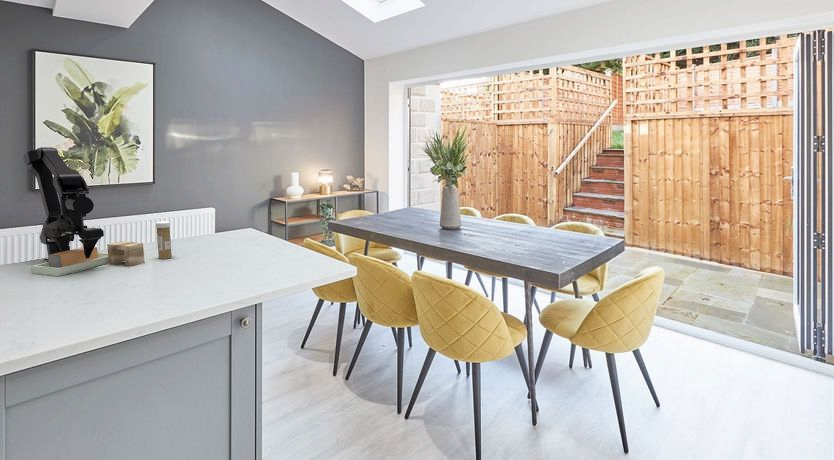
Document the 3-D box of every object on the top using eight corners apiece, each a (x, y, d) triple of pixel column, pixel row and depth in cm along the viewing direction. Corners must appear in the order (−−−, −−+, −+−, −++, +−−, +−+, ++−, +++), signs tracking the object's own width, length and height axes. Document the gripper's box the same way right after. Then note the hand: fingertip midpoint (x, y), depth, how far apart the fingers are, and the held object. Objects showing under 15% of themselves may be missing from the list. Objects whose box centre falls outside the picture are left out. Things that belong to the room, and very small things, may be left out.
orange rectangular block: (49, 270, 148) (47, 254, 148) (89, 260, 162) (87, 246, 161) (59, 271, 147) (57, 256, 147) (98, 261, 161) (97, 247, 160)
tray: (31, 273, 146) (30, 265, 146) (93, 258, 167) (92, 251, 167) (59, 276, 144) (58, 269, 144) (118, 260, 165) (117, 254, 164)
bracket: (108, 264, 160) (107, 244, 159) (123, 260, 166) (121, 241, 164) (130, 266, 158) (128, 246, 157) (144, 262, 164) (143, 243, 162)
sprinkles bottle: (172, 258, 170) (170, 222, 168) (158, 259, 168) (156, 223, 165) (171, 255, 174) (169, 220, 172) (157, 257, 172) (154, 221, 169)
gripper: (24, 212, 147) (29, 260, 149) (71, 216, 142) (76, 265, 145) (58, 208, 157) (63, 252, 160) (103, 211, 153) (107, 257, 156)
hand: (76, 257), depth 155 cm, fingers open, 9 cm apart
